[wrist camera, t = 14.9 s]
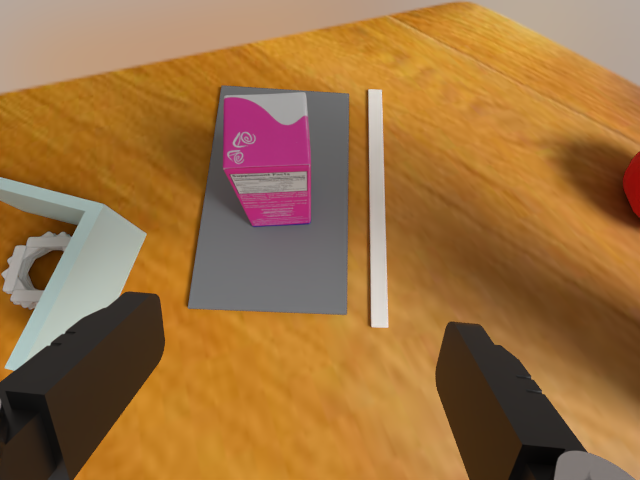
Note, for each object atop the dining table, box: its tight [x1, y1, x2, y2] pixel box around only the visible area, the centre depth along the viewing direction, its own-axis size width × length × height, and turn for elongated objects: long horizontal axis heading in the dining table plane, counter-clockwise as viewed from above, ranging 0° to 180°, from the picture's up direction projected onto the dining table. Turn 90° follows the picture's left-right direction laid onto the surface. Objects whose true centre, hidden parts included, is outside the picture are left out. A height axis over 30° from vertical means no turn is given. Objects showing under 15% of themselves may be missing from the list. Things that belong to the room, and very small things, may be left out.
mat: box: [188, 86, 349, 315], centre depth 33 cm, size 14×24×1 cm, turn 178°
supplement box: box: [223, 92, 311, 227], centre depth 27 cm, size 6×6×12 cm
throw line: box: [368, 89, 388, 328], centre depth 33 cm, size 2×26×1 cm, turn 178°
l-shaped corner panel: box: [0, 177, 147, 371], centre depth 26 cm, size 12×12×8 cm
